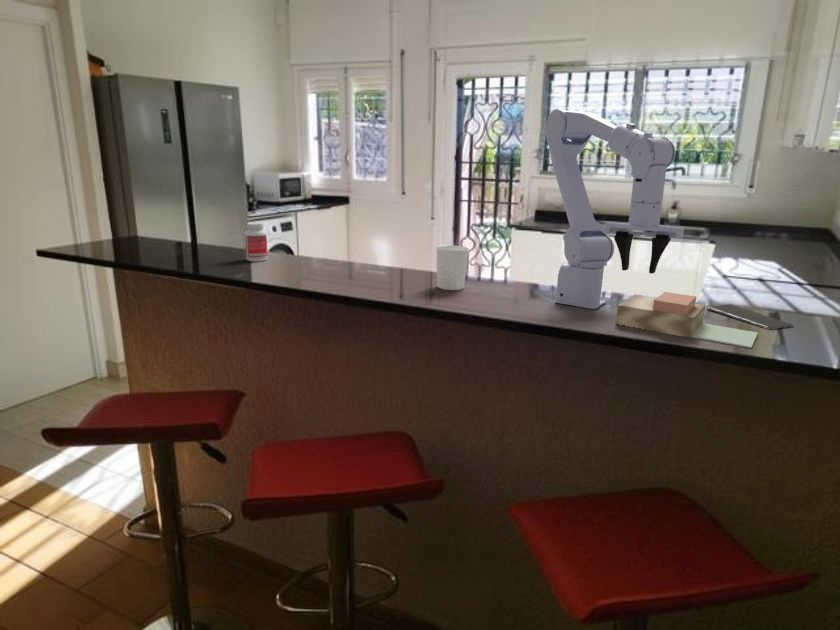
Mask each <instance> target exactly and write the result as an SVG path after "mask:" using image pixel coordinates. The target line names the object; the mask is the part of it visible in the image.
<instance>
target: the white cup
mask: <svg viewBox="0 0 840 630" xmlns="http://www.w3.org/2000/svg"><path fill="white" fill-rule="evenodd" d="M435 250H436V251H435V252H436V277H437V280H436V281H437V285H436V287H437V288H438V289H440V290H445V291H447V290H448V291H460V290H463V289H465V281H466V274H467V266H468V258H469V254H468V253H469V248H468V247H466V246H462V245H439V246H436V249H435Z"/></svg>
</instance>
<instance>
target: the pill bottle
mask: <svg viewBox="0 0 840 630" xmlns="http://www.w3.org/2000/svg"><path fill="white" fill-rule="evenodd" d="M264 227H265V225H264V222H247V224H246V228H247V230H246V231H245V233H244V240H245V257H246V260H247V261H249V262H252V263H253V262H255V263H256V262H258V263H259V262H265V261H267V260H268V239H267V236H268V235H267V232H266V231H265V230H264Z"/></svg>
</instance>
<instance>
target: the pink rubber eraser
mask: <svg viewBox="0 0 840 630" xmlns="http://www.w3.org/2000/svg"><path fill="white" fill-rule="evenodd" d="M696 302H697V296H696V295H689V294H680V293H674V292H667V291H664V292H663V293H661V294H660V295H658V297H656V299H655V300H654V303H653V310H655V311H661V312H667V313H673V314H679V315H685V316H686V315H687V314H688V313H689V312H690V311H691V310H692V309H693V308H694V307H695V304H697V303H696Z"/></svg>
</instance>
